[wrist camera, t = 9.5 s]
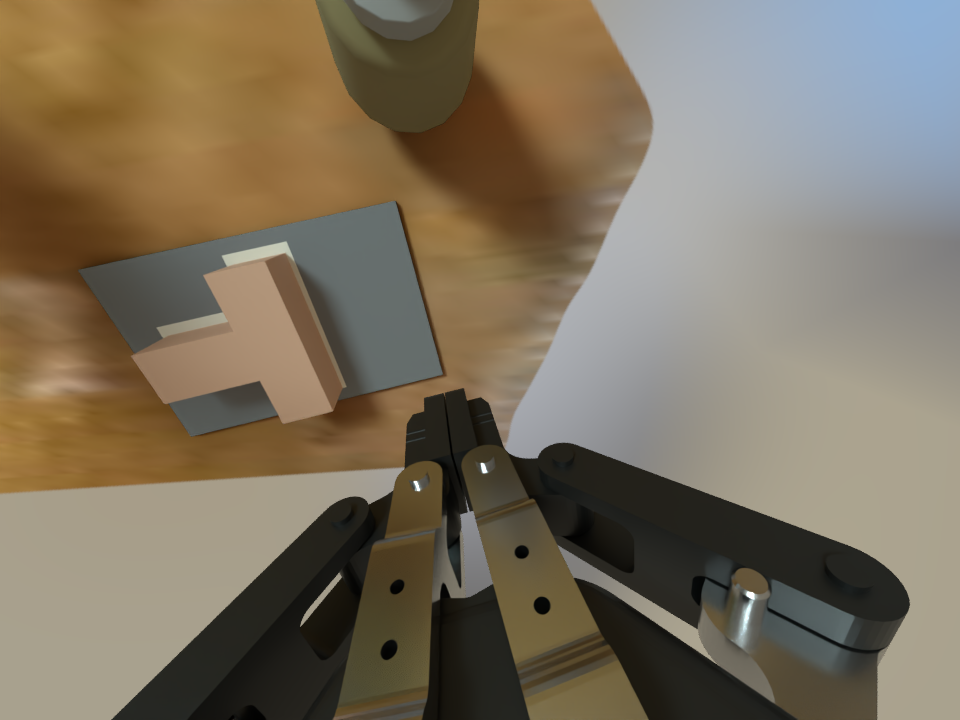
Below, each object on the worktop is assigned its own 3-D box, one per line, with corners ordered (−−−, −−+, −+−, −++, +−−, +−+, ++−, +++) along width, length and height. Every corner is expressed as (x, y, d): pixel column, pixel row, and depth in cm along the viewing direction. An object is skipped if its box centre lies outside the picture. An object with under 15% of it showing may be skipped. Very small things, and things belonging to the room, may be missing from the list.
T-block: (136, 286, 26) (92, 300, 23) (285, 252, 27) (264, 261, 23) (219, 418, 32) (193, 446, 28) (342, 387, 32) (333, 411, 29)
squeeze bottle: (316, 42, 23) (67, -334, 7) (420, -39, 22) (423, -690, 6) (395, 165, 26) (355, 113, 10) (487, 98, 26) (606, -75, 9)
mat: (83, 268, 26) (77, 270, 26) (395, 200, 27) (395, 200, 27) (194, 433, 32) (190, 436, 32) (442, 372, 34) (442, 374, 33)
